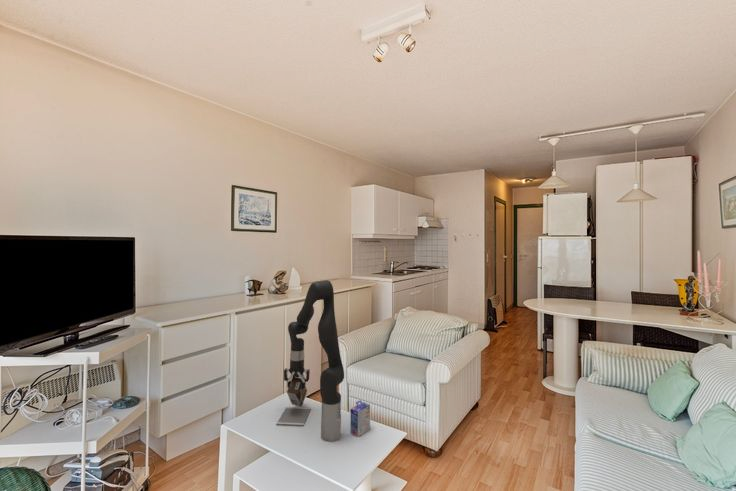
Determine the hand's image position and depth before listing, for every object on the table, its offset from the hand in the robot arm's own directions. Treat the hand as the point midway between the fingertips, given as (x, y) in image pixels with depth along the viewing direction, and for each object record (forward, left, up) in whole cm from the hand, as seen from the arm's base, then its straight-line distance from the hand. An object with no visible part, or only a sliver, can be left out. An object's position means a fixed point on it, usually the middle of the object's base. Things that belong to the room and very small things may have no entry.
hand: (296, 388), depth 182 cm
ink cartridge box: (-36, +13, -15) cm, 41 cm away
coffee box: (0, -9, -9) cm, 13 cm away
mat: (0, +2, -14) cm, 15 cm away
